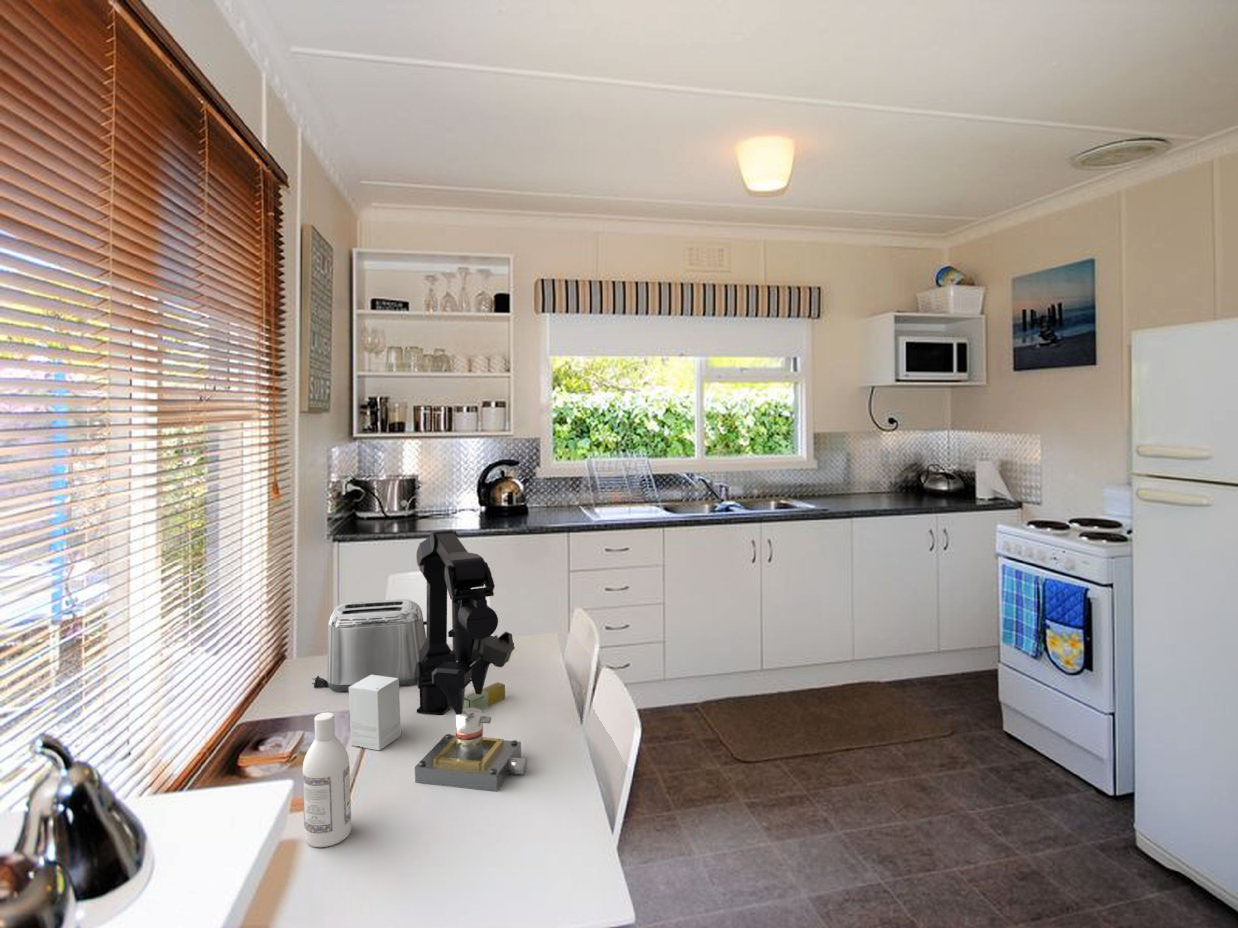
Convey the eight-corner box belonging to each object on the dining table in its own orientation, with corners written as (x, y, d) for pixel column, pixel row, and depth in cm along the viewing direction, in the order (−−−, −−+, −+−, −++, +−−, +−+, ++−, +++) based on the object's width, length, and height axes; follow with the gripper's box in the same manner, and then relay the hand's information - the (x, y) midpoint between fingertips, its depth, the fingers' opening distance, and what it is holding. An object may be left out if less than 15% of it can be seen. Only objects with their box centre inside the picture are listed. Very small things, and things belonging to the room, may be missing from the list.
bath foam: (338, 817, 116) (334, 702, 114) (359, 833, 111) (355, 714, 110) (297, 836, 111) (292, 716, 109) (317, 854, 106) (313, 729, 105)
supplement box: (402, 735, 146) (400, 677, 145) (379, 751, 139) (377, 690, 138) (373, 730, 148) (371, 673, 147) (349, 745, 141) (347, 686, 140)
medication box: (468, 717, 154) (468, 700, 154) (460, 714, 156) (460, 697, 156) (505, 699, 164) (505, 683, 164) (497, 696, 166) (497, 680, 165)
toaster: (433, 686, 172) (431, 611, 171) (306, 698, 165) (303, 620, 164) (434, 662, 188) (433, 594, 187) (319, 672, 181) (316, 601, 180)
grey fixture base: (415, 782, 127) (414, 761, 127) (446, 748, 140) (445, 729, 139) (512, 793, 123) (512, 771, 123) (535, 757, 136) (535, 738, 136)
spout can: (451, 758, 130) (450, 717, 129) (462, 746, 135) (462, 706, 134) (485, 762, 128) (484, 720, 128) (495, 749, 133) (494, 709, 133)
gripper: (489, 641, 119) (490, 729, 120) (524, 611, 137) (525, 687, 138) (429, 638, 121) (431, 723, 122) (472, 609, 139) (473, 683, 141)
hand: (469, 703), depth 131 cm, fingers open, 9 cm apart
